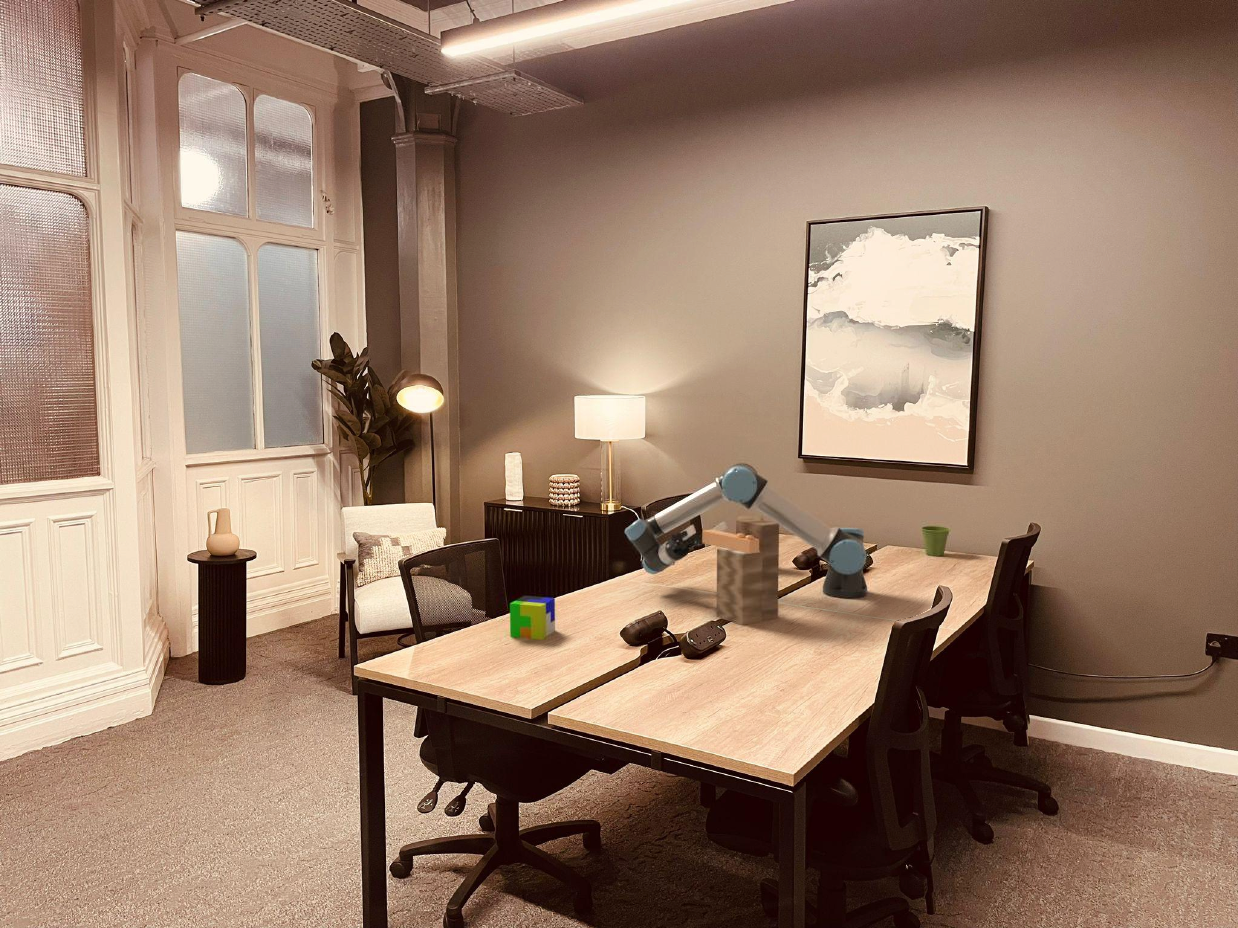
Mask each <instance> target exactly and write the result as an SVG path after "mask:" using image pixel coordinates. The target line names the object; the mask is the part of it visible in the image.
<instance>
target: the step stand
mask: <svg viewBox="0 0 1238 928" xmlns="http://www.w3.org/2000/svg"><path fill="white" fill-rule="evenodd" d="M735 526H736V528H735V529H736V531H735V534H736V535H737V534H739V533H743V534H745V537H746V536H747V535H752V536H754V538H755V539H759V552H758V553H752V554H748V553H744V552H739V551H735V550H731V549H726V548H722V547H719V548H716V617H717V618H719V619H723V620H724V621H729V622H732V623H735V624H738V625H741V626H745V625H750V624H754V623H759V622H763V621H769V620H773V619H778V618H779V568H780V567H779V566H780V565H779V561H780V559H779V558H780V554H779V550H780V525H779V523H776V522H775V521H769V520H765V519H763V520H759V519H753V518H751V519H744V520H737V519H736V523H735Z"/></svg>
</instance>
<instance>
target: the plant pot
mask: <svg viewBox="0 0 1238 928" xmlns="http://www.w3.org/2000/svg"><path fill="white" fill-rule="evenodd" d="M920 530H921V531H922V532H921V533H922V535H923V537H922V538H923V542H924V543H923V544H924V551H925V555H927V556H931V557H940V556H944V555H945V551H946V545H947V541H948V536H949V533H950V531H951V528H950V527H947V526H940V525H924V526H921V527H920Z"/></svg>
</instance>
